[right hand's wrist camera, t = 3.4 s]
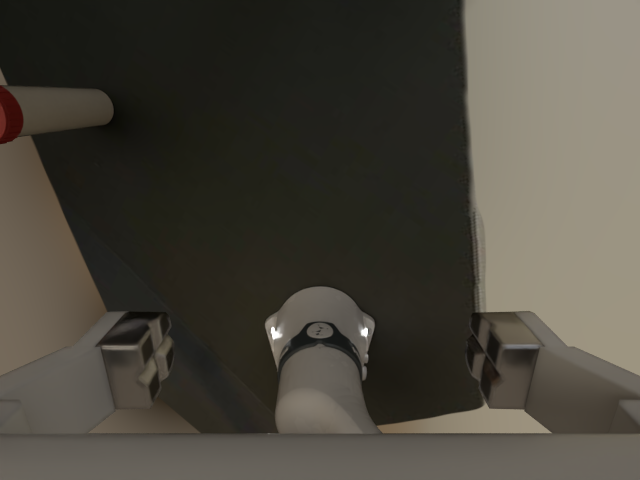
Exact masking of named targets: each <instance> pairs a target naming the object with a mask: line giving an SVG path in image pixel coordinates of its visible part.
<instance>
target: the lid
mask: <svg viewBox="0 0 640 480" xmlns="http://www.w3.org/2000/svg"><path fill="white" fill-rule="evenodd" d="M23 123H24V119H23V113H22V110H21V107H20V105H19V103H18V101H17V100H16V98H15V97H14V96H13V95H12V94H11V93H10V92H9V91H8V90H7V89H5V88H4V87H3V86H1V85H0V144H4V143H7V142H10V141H13V140H14V139H15V138H17V136H18V135H19V134H20V133H21V131H22V128H23Z"/></svg>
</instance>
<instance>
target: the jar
mask: <svg viewBox="0 0 640 480" xmlns="http://www.w3.org/2000/svg"><path fill="white" fill-rule="evenodd" d="M1 86H3V87H4V88H5V89H7V90H8V91H9V92H10V93H11V94H12V95H13V96H14V97H15V98H16V100H17V101H18V103H19V105H20V107H21V110H22V113H23V119H24V123H23V128H22V131H21V133H20V134H19V135H18V136H17V137H21V136H29V135H36V134H43V133H51V132H58V131H65V130H73V129H80V128H87V127H95V126H102V125H105V124H107V123H109V122H110V120H111V119H112V117H113V113H114V109H113V104H112V102H111V100H110V98H109V97H108V96H107V95H106V94H105V93H104V92H102V91H100V90H98V89H94V88H66V87H35V86H4V85H1Z"/></svg>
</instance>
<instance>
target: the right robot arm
mask: <svg viewBox="0 0 640 480" xmlns="http://www.w3.org/2000/svg"><path fill="white" fill-rule="evenodd" d="M170 328H171V323H170V318H169V315H168V314H167V313H166V312H128V311H115V312H107V313H105V314H104V315H103V316H102V317H101V318H100V319H99V320H98V322H96V323H95V324H94V325H93V326H92V328H90V329H89V330H88V331H87V332H86V333H85V334H84V335H83V336H82V337H81V338H80V339H79V341H77V342H76V343H75V344H74V345H73V346H72V347H64V348H62V349H60V350H57V351H55V352H53V353H51V354H48V355H46V356H44V357H42V358H40V359H37V360H35V361H33V362H30V363H28V364H26V365H24V366H21V367H19V368H17V369H15V370H12V371H10V372H8V373H6V374H3V375H1V376H0V480H640V376H639V375H636V374H634V373H632V372H630V371H627V370H625V369H623V368H621V367H618V366H616V365H614V364H612V363H609V362H607V361H605V360H603V359H600V358H598V357H596V356H594V355H592V354H589V353H587V352H585V351H583V350H580V349H578V348H576V347H568V346H567V345H566V344H565V343H564V342H563V341H562V340H561V339H560V338H559V337H558V336H557V335H556V334H555V333H554V332H553V331H552V330H551V329H550V328H549V327H548V326H547V325H546V324H545V323H544V322H543V321H542V320H541V319H540V318H539V317H538V316H537V315H536V314H535V313H533V312H530V311H520V312H484V313H472V315H471V318H470V322H469V328H470V329H471V331H472V333H473V334H472V336H471V337H470V338H469V339H468V340H467V341H466V348H465V356H466V363H467V367H468V370H469V372H470V374H471V376H472V377H474V378H475V379H477V380H478V381H480V384H479V390H480V392H481V394H482V396H483V398H484V399H485V401H486V403H487V405H488V407H489V408H492V409H525V412H526V413H528V414H529V415H530V416H531V417H533V418H534V419H535V420H537V421H538V422H539V423H540V424H542V425H543V426H544V427H545V428H547V429H548V430H549V431H550V432H552V433H549V434H546V433H542V434H539V433H532V434H531V433H522V434H520V433H516V434H514V433H512V434H511V433H509V434H508V433H507V434H506V433H502V434H500V433H498V434H497V433H494V434H491V433H489V434H488V433H487V434H486V433H484V434H483V433H482V434H481V433H480V434H479V433H478V434H475V433H474V434H473V433H468V434H467V433H464V434H463V433H461V434H458V433H455V434H454V433H451V434H450V433H448V434H447V433H446V434H445V433H443V434H442V433H438V434H437V433H435V434H383V433H382V432H381V431H380V430H379V429H378V427H377V426H376V425H375V424H374V422H373V421H372V419H371V418H370V416H369V414H368V412H367V408H366V405H365V401H364V397H363V393H362V387H361V384H362V380H365V379H366V374H367V368H366V367H365V366H364V363H367V362H368V354H367V352H368V349H369V345H370V342H371V338H372V335H373V331H374V328H375V321H374V319H373V318H372V317H371V316H369V315H367V314H366V313H364V312H362V311H361V310H360V309H359V307H358V306H357V305H356V303H355V302H354V301H353V300H352V299H351V298H350V297H349V296H348V295H346V294H345V293H343V292H341V291H339V290H337V289H334V288H330V287H322V286H318V287H310V288H306V289H303V290H301V291H299V292H297V293H295V294H294V295H292V296H291V297H290V298H289V299H288V300H287V301H286V302H285V303H284V305H283V306H282V307H281V309H280V310H279V311H278V312H276V313H274V314H273V315H271V316H269V317H268V318H267V319H266V321H265V328H266V331H267V335H268V338H269V342H270V345H271V349H272V352H273V355H274V359H275V362H276V366H277V371H278V384H279V389H278V396H277V403H276V410H275V421H276V426H277V429H278V432H279V434H187V433H181V434H179V433H178V434H177V433H174V434H173V433H169V434H167V433H166V434H161V433H159V434H155V433H153V434H149V433H143V434H142V433H141V434H140V433H139V434H138V433H136V434H135V433H134V434H133V433H132V434H131V433H127V434H126V433H124V434H123V433H121V434H120V433H117V434H116V433H111V434H110V433H109V434H108V433H101V434H100V433H88V432H90V431H91V430H92V429H93V428H95V427H96V426H97V425H99V424H100V423H101V422H102V421H104V420H105V419H106V418H107V417H109V416H110V415H111V414H113V413H114V412H115V409H147V408H151V407H152V405H153V403H154V401H155V399H156V398H157V396H158V394H159V392H160V390H161V384H160V381H162V380H163V379H165V378H166V377H168V376H169V374H170V372H171V370H172V367H173V363H174V358H175V347H174V341H173V340H172V339H171V338H170V337H169V336H168V334H167V333H168V331H169V329H170ZM367 329H368V330H367Z"/></svg>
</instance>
